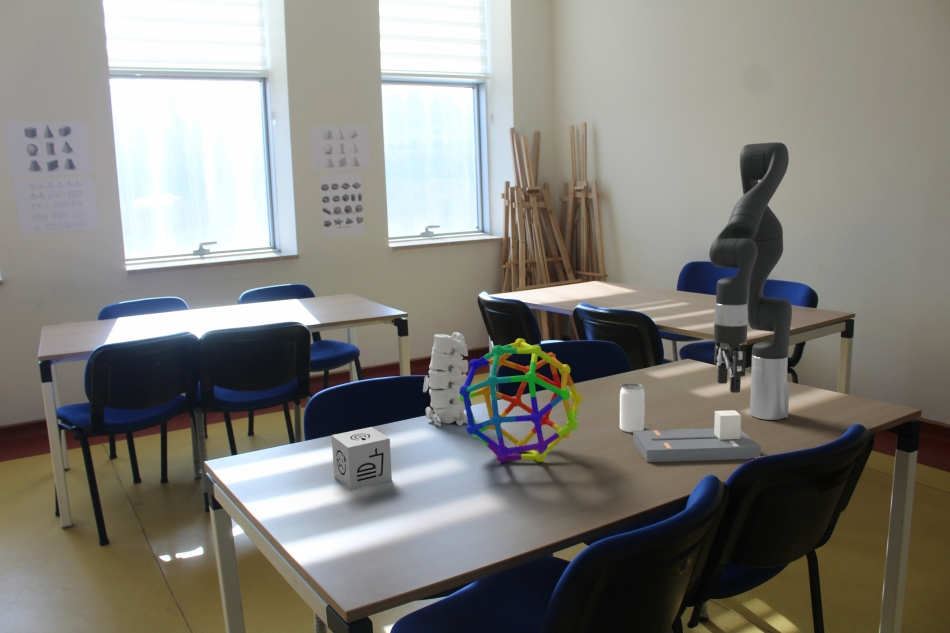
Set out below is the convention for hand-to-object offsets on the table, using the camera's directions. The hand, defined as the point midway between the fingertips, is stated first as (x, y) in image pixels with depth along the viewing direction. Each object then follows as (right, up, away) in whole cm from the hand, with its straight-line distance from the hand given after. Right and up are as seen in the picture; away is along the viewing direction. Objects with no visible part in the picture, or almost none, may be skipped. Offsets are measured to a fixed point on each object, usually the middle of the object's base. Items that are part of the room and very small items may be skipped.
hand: (728, 387), depth 177 cm
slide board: (-8, -16, +3) cm, 18 cm away
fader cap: (0, -12, +2) cm, 12 cm away
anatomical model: (-69, -13, +30) cm, 76 cm away
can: (-19, -13, +19) cm, 30 cm away
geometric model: (-51, -18, 0) cm, 54 cm away
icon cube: (-87, -20, -9) cm, 90 cm away
